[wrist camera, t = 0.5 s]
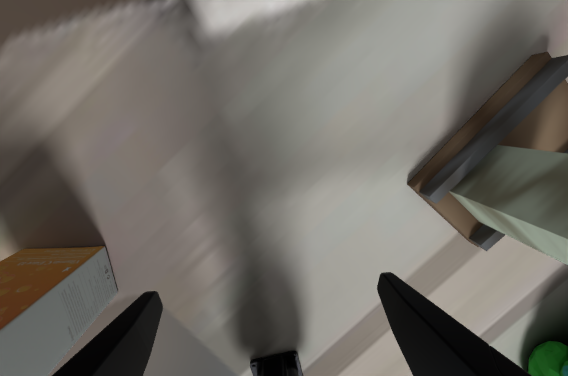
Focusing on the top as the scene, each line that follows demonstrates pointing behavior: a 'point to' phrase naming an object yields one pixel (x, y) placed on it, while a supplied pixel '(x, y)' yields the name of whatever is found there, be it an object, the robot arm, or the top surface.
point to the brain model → (549, 360)
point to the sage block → (521, 197)
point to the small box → (49, 304)
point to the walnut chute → (499, 138)
